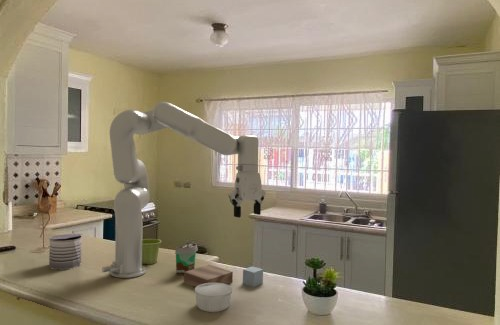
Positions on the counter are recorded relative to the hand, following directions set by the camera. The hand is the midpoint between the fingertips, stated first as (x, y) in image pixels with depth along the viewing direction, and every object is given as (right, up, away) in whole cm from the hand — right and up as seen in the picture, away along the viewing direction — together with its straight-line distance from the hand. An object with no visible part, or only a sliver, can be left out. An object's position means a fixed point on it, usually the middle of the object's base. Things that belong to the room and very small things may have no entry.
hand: (247, 215), depth 138 cm
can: (-71, -21, +8) cm, 74 cm away
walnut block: (-14, -23, -7) cm, 27 cm away
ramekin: (-10, -23, -27) cm, 37 cm away
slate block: (+2, -23, -7) cm, 24 cm away
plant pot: (-40, -21, +15) cm, 48 cm away
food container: (-22, -22, +5) cm, 32 cm away
